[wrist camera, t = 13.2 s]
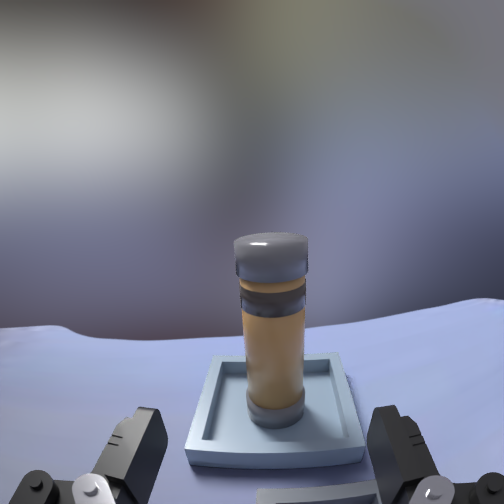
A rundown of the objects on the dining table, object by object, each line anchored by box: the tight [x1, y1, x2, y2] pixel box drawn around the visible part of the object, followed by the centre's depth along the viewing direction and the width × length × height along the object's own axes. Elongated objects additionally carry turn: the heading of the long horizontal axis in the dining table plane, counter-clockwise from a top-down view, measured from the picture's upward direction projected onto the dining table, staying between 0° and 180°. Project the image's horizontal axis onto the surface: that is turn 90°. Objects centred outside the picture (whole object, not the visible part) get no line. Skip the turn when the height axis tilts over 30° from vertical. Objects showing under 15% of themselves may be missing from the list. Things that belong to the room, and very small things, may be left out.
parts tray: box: [184, 352, 366, 469], centre depth 23 cm, size 12×12×2 cm
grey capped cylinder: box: [234, 232, 308, 429], centre depth 21 cm, size 5×5×14 cm
